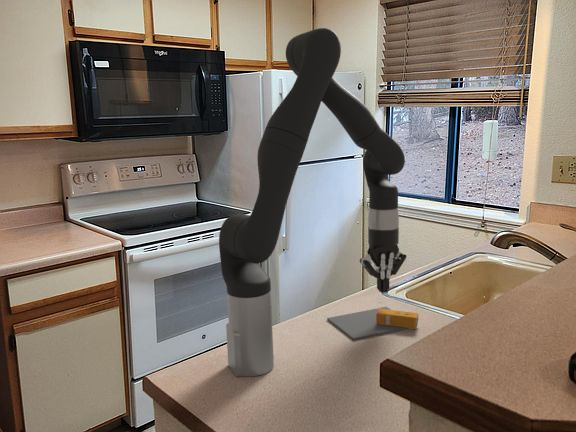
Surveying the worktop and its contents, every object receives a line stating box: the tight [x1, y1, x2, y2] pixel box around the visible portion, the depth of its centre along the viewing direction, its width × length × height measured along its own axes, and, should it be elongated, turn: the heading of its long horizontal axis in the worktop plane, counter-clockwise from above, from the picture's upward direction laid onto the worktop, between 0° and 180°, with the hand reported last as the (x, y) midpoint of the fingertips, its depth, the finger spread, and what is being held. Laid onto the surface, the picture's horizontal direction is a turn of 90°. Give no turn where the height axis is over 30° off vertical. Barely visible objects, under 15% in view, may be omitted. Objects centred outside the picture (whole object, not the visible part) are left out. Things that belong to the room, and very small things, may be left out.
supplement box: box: [376, 309, 419, 330], centre depth 132 cm, size 3×3×10 cm
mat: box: [327, 306, 412, 341], centre depth 135 cm, size 18×14×1 cm
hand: (383, 291), depth 135 cm, fingers closed
